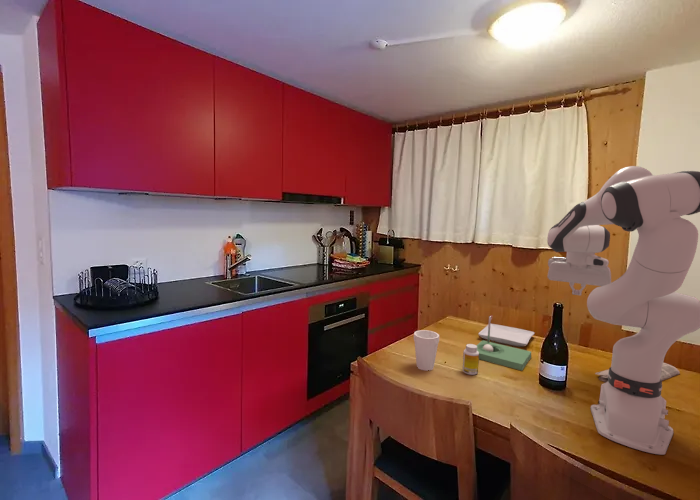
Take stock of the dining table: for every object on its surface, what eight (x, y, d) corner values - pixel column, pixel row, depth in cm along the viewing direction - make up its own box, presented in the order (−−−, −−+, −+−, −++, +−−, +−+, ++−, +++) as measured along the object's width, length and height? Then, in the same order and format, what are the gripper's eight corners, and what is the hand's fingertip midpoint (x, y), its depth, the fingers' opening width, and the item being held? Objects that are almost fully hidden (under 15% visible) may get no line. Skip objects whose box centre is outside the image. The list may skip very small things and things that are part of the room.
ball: (491, 357, 147) (493, 348, 146) (481, 354, 149) (482, 345, 148) (493, 352, 150) (494, 344, 149) (482, 349, 152) (484, 341, 151)
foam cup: (432, 374, 129) (434, 340, 128) (409, 368, 134) (410, 335, 133) (440, 365, 137) (442, 333, 136) (418, 359, 142) (419, 328, 141)
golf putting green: (522, 370, 134) (522, 364, 134) (469, 356, 146) (470, 350, 146) (531, 357, 146) (531, 351, 146) (482, 345, 159) (482, 340, 158)
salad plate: (489, 328, 183) (489, 322, 183) (534, 338, 171) (535, 331, 170) (477, 340, 166) (477, 333, 166) (526, 351, 154) (527, 344, 153)
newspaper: (631, 394, 119) (632, 384, 118) (592, 378, 130) (593, 369, 129) (681, 374, 134) (682, 365, 134) (642, 362, 145) (643, 353, 145)
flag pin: (488, 343, 155) (490, 316, 154) (487, 342, 155) (488, 316, 154) (491, 340, 158) (493, 314, 156) (489, 340, 158) (491, 314, 157)
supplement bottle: (480, 375, 129) (482, 348, 128) (465, 375, 129) (467, 348, 128) (474, 368, 135) (476, 343, 134) (460, 368, 135) (461, 342, 134)
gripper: (547, 256, 136) (544, 291, 138) (613, 262, 124) (609, 300, 125) (550, 255, 141) (547, 289, 143) (613, 260, 129) (609, 297, 130)
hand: (576, 294), depth 134 cm, fingers closed
